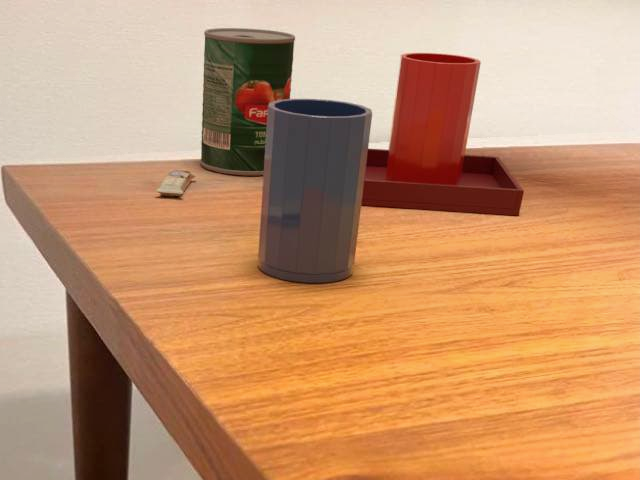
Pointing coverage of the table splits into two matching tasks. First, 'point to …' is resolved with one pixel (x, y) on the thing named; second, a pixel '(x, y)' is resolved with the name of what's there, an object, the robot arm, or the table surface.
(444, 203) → the red tray
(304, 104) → the blue cup
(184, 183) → the granola bar
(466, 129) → the red cup
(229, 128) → the canned tomato
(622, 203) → the table surface
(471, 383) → the table surface
